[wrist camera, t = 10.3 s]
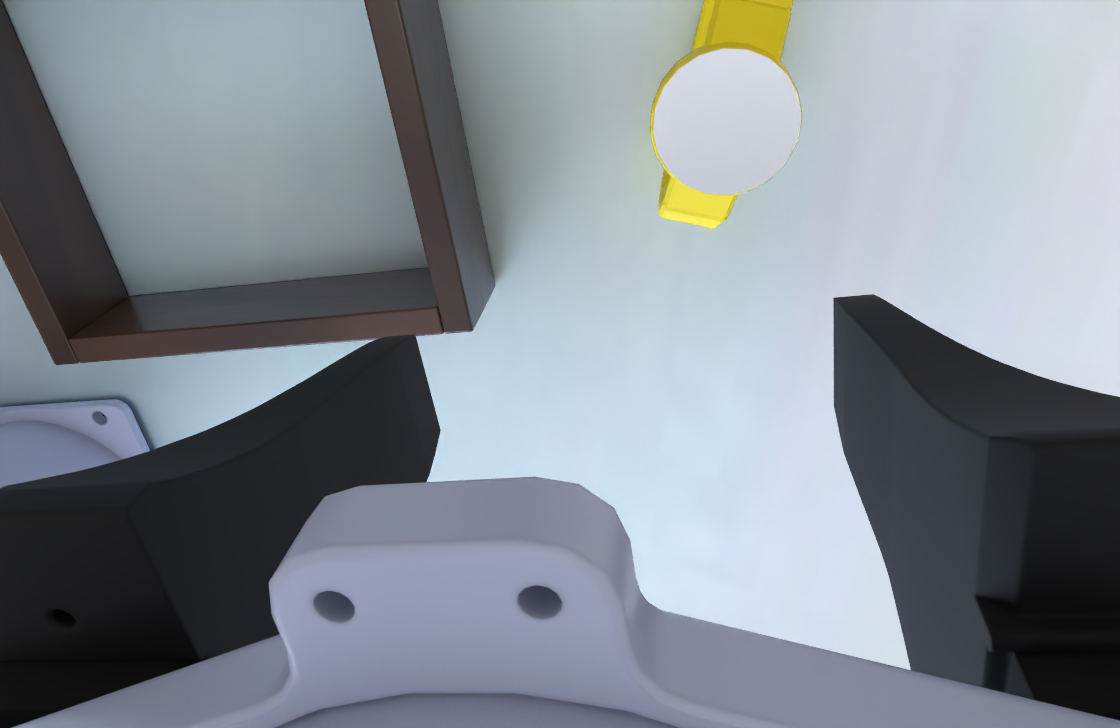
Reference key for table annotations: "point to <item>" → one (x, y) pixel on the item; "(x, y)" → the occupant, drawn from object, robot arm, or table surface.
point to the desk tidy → (262, 309)
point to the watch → (725, 111)
